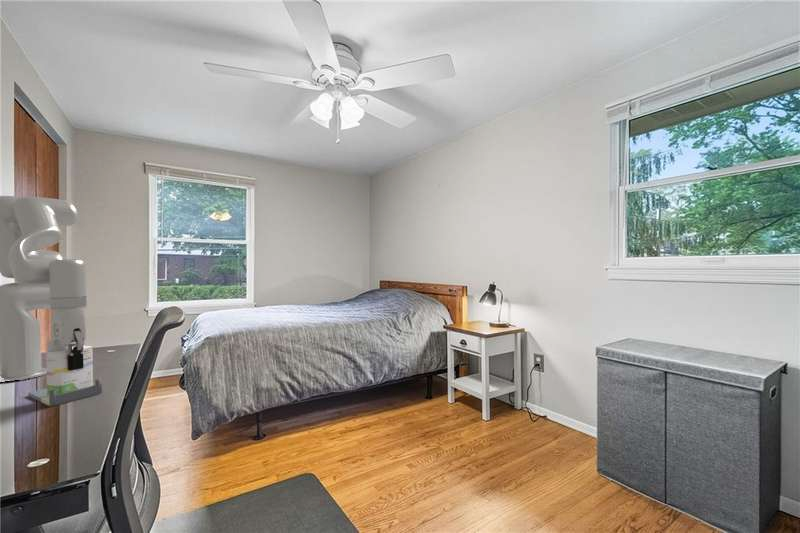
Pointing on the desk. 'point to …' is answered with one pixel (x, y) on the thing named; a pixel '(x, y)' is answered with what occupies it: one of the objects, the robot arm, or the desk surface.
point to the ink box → (59, 372)
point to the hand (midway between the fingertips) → (70, 367)
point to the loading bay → (66, 394)
